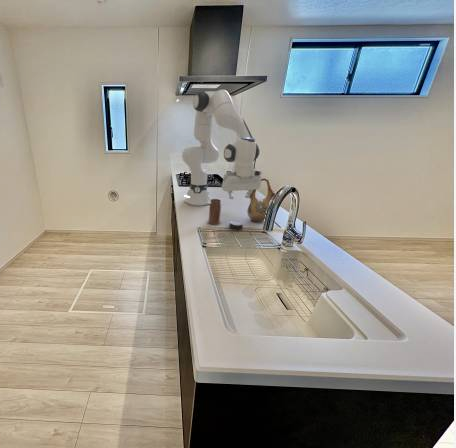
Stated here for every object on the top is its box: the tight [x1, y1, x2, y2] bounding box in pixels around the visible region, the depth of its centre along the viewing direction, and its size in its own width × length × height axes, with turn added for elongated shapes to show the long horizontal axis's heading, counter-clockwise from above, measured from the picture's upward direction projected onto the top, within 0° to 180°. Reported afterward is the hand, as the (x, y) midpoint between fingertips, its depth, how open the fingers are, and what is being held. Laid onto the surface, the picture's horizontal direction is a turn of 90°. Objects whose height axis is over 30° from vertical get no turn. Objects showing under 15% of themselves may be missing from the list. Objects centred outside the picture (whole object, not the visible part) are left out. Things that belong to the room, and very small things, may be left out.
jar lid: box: [229, 220, 243, 231], centre depth 130 cm, size 7×6×3 cm
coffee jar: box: [207, 198, 222, 226], centre depth 135 cm, size 6×6×13 cm
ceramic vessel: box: [245, 177, 276, 223], centre depth 135 cm, size 16×9×25 cm, turn 87°
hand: (239, 198), depth 124 cm, fingers open, 8 cm apart
